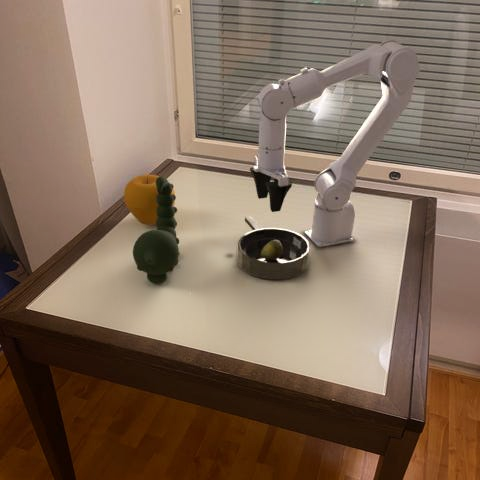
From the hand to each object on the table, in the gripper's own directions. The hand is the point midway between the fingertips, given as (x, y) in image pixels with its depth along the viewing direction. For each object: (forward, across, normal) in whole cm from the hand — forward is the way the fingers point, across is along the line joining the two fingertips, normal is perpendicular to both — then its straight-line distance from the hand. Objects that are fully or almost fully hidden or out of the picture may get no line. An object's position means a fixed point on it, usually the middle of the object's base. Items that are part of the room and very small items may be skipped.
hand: (268, 204), depth 117 cm
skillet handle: (+6, -1, -3) cm, 7 cm away
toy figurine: (+10, +3, -27) cm, 29 cm away
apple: (+10, -20, -24) cm, 33 cm away
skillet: (+9, +10, -3) cm, 14 cm away
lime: (+9, +10, -3) cm, 14 cm away
